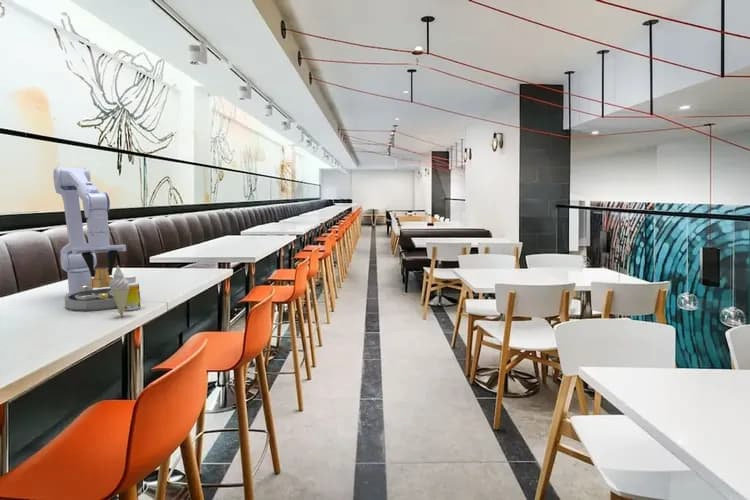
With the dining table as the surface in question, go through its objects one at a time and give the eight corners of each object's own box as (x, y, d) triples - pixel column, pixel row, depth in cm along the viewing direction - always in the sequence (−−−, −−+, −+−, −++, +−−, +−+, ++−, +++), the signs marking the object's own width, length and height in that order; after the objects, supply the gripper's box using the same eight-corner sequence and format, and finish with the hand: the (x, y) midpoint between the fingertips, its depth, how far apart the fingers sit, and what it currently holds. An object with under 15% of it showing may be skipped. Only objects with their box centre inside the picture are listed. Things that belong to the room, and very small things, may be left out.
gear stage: (62, 302, 162) (60, 283, 161) (131, 294, 174) (130, 276, 174) (70, 314, 145) (68, 293, 144) (146, 304, 158) (145, 284, 157)
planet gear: (89, 286, 155) (88, 268, 154) (111, 283, 158) (110, 266, 158) (92, 288, 150) (91, 270, 149) (115, 286, 154) (114, 268, 153)
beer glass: (142, 309, 152) (140, 276, 150) (122, 312, 148) (120, 278, 147) (137, 306, 156) (135, 274, 155) (118, 308, 152) (116, 276, 151)
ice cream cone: (116, 314, 146) (112, 263, 144) (134, 313, 146) (131, 263, 144) (108, 318, 141) (105, 266, 139) (127, 318, 141) (123, 265, 139)
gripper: (72, 234, 145) (76, 280, 146) (126, 231, 153) (129, 274, 155) (69, 232, 150) (73, 277, 152) (122, 230, 159) (125, 272, 161)
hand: (101, 275), depth 154 cm, fingers closed on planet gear, 4 cm apart
